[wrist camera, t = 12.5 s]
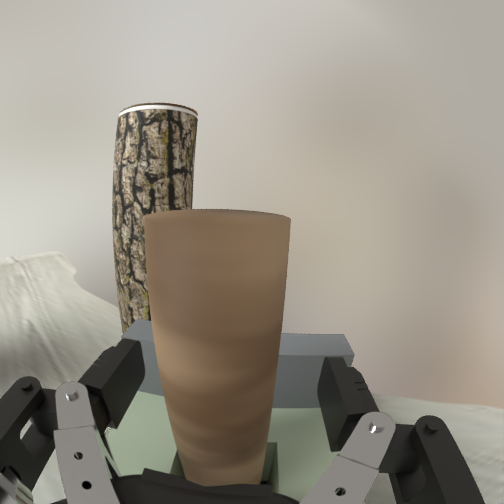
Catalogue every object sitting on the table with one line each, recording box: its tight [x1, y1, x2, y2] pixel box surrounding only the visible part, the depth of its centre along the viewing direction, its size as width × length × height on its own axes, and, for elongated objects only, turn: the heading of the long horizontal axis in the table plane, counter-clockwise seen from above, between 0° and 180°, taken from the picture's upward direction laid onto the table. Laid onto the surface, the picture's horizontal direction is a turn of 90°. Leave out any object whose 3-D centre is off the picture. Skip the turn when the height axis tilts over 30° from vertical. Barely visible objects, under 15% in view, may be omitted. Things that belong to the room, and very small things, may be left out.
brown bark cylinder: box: [113, 103, 198, 334], centre depth 22 cm, size 7×7×25 cm
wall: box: [122, 319, 354, 408], centre depth 17 cm, size 14×2×10 cm, turn 88°
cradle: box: [107, 391, 365, 504], centre depth 12 cm, size 14×8×6 cm, turn 88°
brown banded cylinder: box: [144, 209, 291, 486], centre depth 10 cm, size 4×4×18 cm
